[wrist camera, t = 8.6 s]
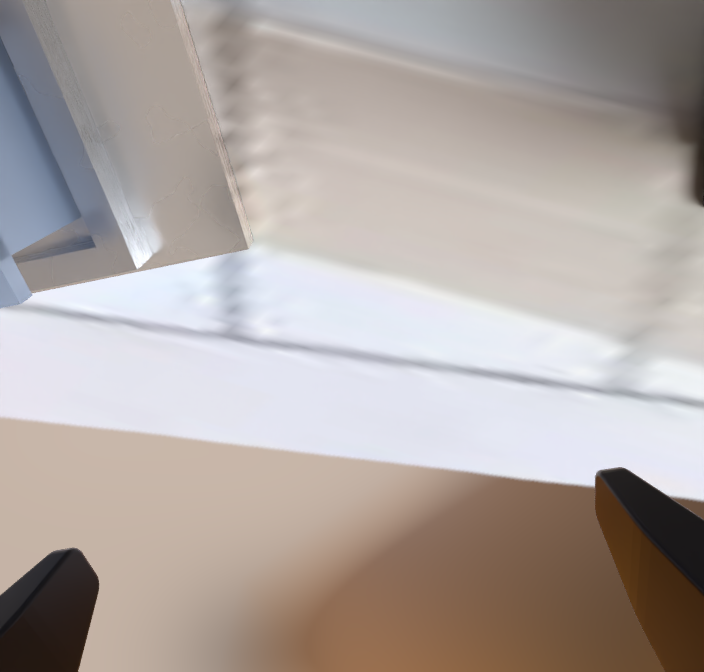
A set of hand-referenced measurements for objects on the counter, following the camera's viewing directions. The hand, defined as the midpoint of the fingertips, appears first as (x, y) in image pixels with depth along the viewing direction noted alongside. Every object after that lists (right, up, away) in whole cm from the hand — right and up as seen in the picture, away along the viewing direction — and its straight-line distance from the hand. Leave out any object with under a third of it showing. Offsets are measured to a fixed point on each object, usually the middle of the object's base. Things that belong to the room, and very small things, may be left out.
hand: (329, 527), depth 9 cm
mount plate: (-10, +10, +8) cm, 17 cm away
